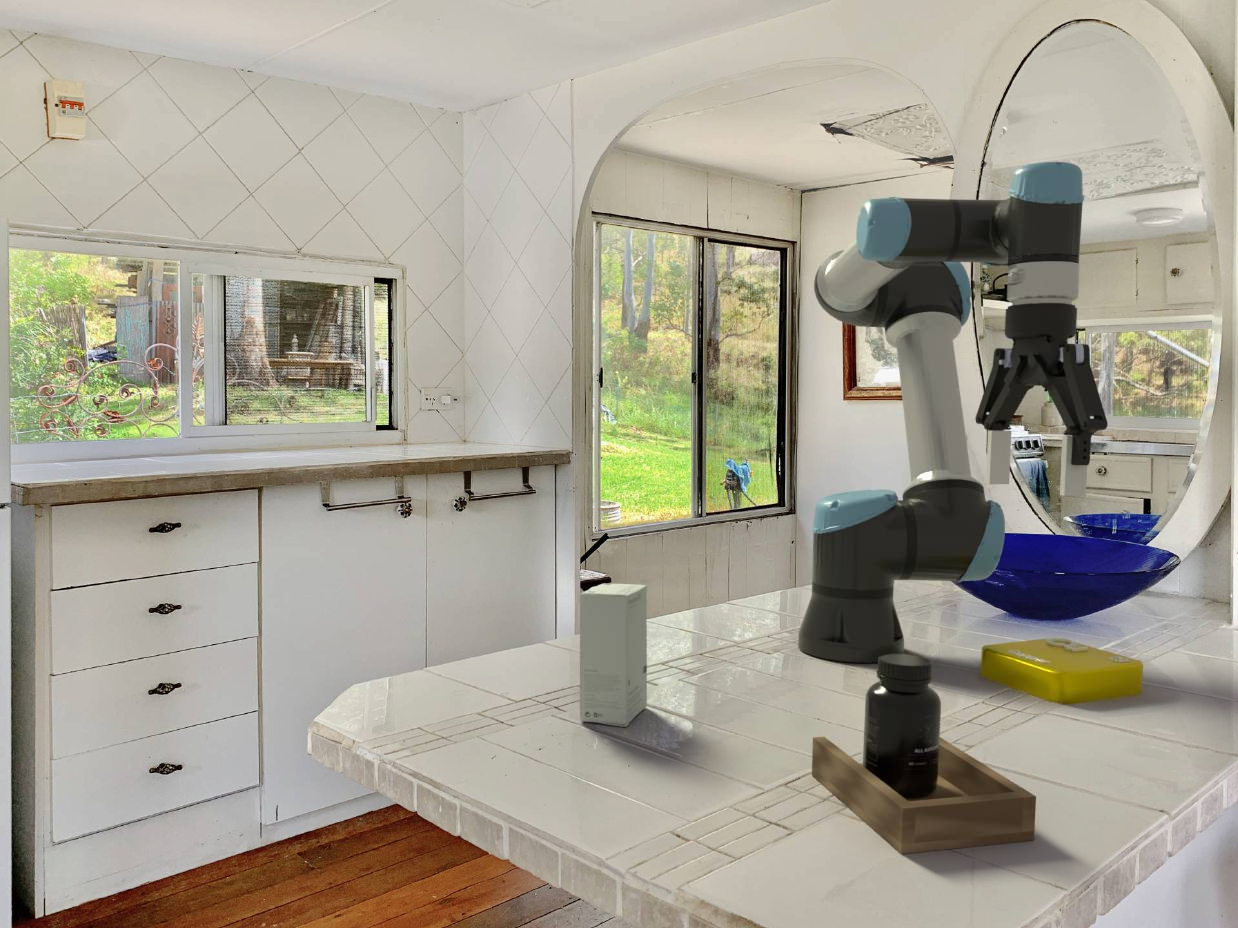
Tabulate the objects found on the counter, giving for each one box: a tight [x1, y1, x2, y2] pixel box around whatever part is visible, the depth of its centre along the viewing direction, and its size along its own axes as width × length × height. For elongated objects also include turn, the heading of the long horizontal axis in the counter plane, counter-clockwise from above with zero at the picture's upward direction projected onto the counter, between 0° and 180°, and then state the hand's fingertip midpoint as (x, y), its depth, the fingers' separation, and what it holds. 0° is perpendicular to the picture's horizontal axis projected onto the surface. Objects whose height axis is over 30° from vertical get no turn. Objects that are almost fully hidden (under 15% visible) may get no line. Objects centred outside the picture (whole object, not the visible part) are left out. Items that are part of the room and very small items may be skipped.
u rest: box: [811, 736, 1037, 855], centre depth 91 cm, size 17×12×4 cm
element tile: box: [979, 637, 1144, 705], centre depth 132 cm, size 15×15×5 cm
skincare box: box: [579, 582, 648, 728], centre depth 116 cm, size 8×6×15 cm
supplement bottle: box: [862, 653, 942, 798], centre depth 94 cm, size 7×7×12 cm
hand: (1032, 489), depth 116 cm, fingers open, 13 cm apart
